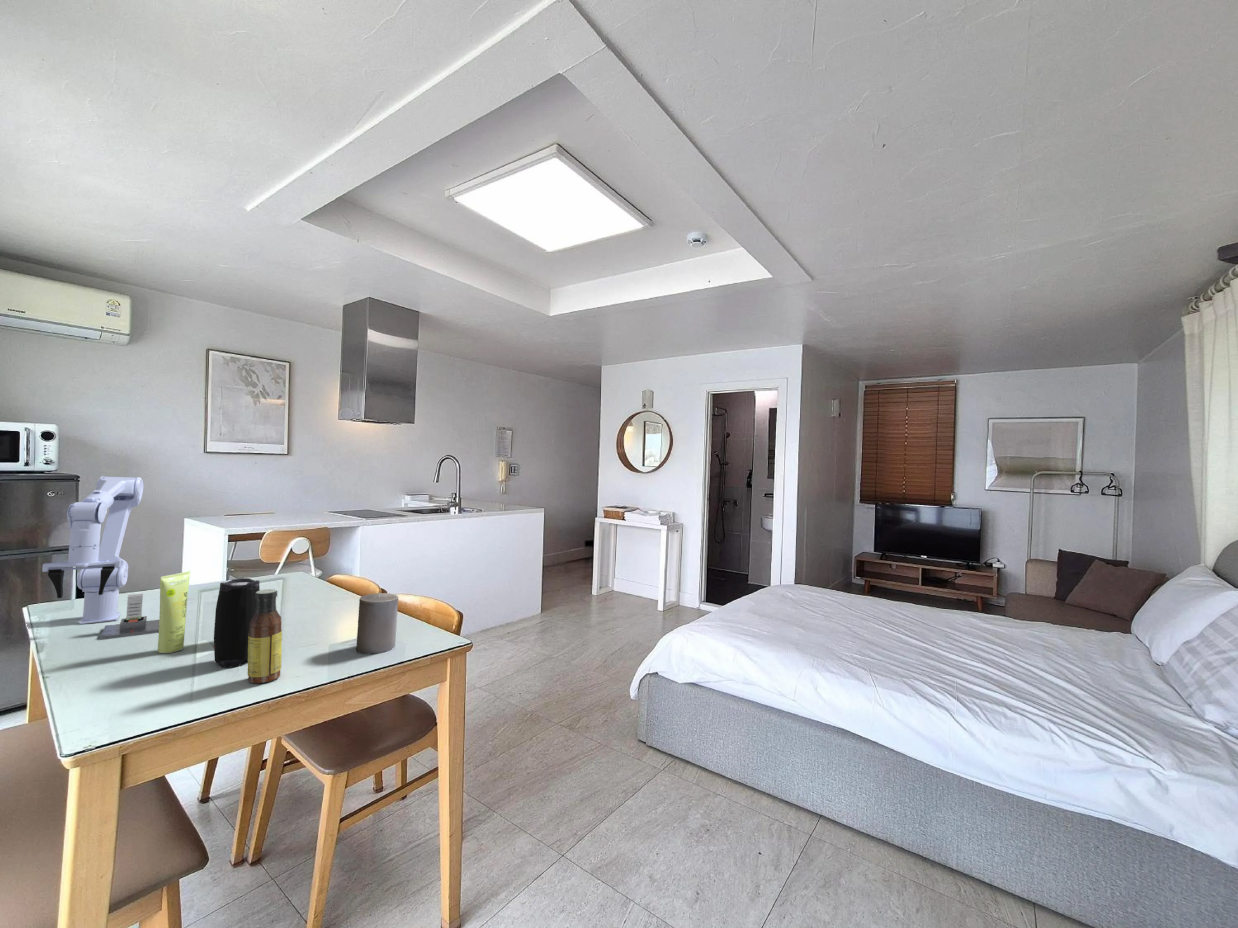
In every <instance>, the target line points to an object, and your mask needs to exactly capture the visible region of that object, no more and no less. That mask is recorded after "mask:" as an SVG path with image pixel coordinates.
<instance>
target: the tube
mask: <svg viewBox="0 0 1238 928" xmlns="http://www.w3.org/2000/svg"><path fill="white" fill-rule="evenodd" d="M190 576H191V570H189V571H184V572H179V573H174V574H169V575H163V576H160V578H159V617H158V618H159V619H158V620H159V632H158V641H157V652H158V653H159V654H170V653H174V652H179V651H181V650H184V647H185V645H184V644H185V634H186V633H185V632H186V620H187V607H188V598H189V597H188V596H189V588H190V587H189V586H190V578H191V577H190Z"/></svg>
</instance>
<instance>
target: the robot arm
mask: <svg viewBox="0 0 1238 928" xmlns="http://www.w3.org/2000/svg"><path fill="white" fill-rule="evenodd" d="M95 484H96V485H95V489H94V490H93V491H92V492H89V494H87V495H86V496H85V497H84V498H83V499H82V500H81V501H80V502H79V501H77V502H76V501H75V502H74V503H71V504H69V506H68V508H67V512H66V518H67V523H68V524H67V526H68V530H69V531H70V533H69V534H70V535H69V542H68V543H69V545H68V559H67V561H63V562H62V561H61V562H50V563H48V562H47V563H46V562H45V563H43V564H42V569H41V570H42V571H41V572H42V573H43V572H44V573H46V572H48V573H47V577H48V578H49V579H50V581H51V582H52V585H53V587H54V589H55V592H56V597H57V599H62V598H63V595H64V586H63V584H64V576H65V575H64V574H65V571H73V570H74V571H75V570H79V572H78V573H77V576H76V586H77V587H78V589H80V590H82V593H83V592H84V594H83V595H84V598H83V609H82V610H83V612H82V617H81V619H80V620H79V622H78V624H79V625H82V624H83V625H84V624H93V623H102V622H103V623H104V622H113V621H118V620H119V618H120V615H121V611H118V608H119V593H120V589H121V588H123V587H124V586H126V585H127V581H128V577H129V564H128V562H127V561H126V560H124V559H123V558H121V557H120V553H121V549H122V544H123V540H124V537H125V533H126V529H127V525H128V521H129V517H130V514H131V512H132V510H133V508H135V507H137V506H139V505H140V502H141V500H142V497H143V493H144V481H143V478H141V477H139V476H137V477H127V476H105V475H102V476H100V477H99V478H98V479H97V481H96V483H95ZM106 516H107V518H106ZM105 520H106V522H105V525H104V528H103V529H104V530H103V533H102V536H101V527H102V523H104V521H105Z"/></svg>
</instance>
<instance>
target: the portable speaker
mask: <svg viewBox="0 0 1238 928" xmlns="http://www.w3.org/2000/svg"><path fill="white" fill-rule="evenodd" d="M260 590H261V589H260V580H257V579H256V580H255V579H251V578H248V577H247V578H246V577H242V578H234V579H232V580H229V581H226V582H220V583H219V590H218V594H217V595H218V596H217V600H216V606H215V613H214V615H215V617H214V630H213V653H214V654H213V655H214V662H215V664H218V665H219V666H220V668H236V667H240V666H241V665H242V664H243V662H246V661H248V633H249V625H250V621H251V619H252V618H253V616H254V614H255V609H256V599H255V593H256V592H257V591H260Z"/></svg>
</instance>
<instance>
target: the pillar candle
mask: <svg viewBox="0 0 1238 928" xmlns="http://www.w3.org/2000/svg"><path fill="white" fill-rule="evenodd" d="M358 601H359V603H358V615H357V617H358V619H357V633H356V635H357V636H356V647H355V649H356V652H358V653H360V654H365V653H370V654H371V653H376V654H381V653H380V652H383V653H385V652H384V651H386V652H389V651H391V649H392V648H393V649H394V648H395V646H396V639H397V637H396V636H397V627H398V626H397V623H398V611H399V610H398V606H399V605H398V604H399V595H398V594H395V593H386V592H383V593H382V592H379V591H378V593H369V594H365V595H362V596H360V598H359V600H358ZM393 649H392V650H393ZM388 650H389V651H388ZM370 654H369V655H370Z"/></svg>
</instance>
